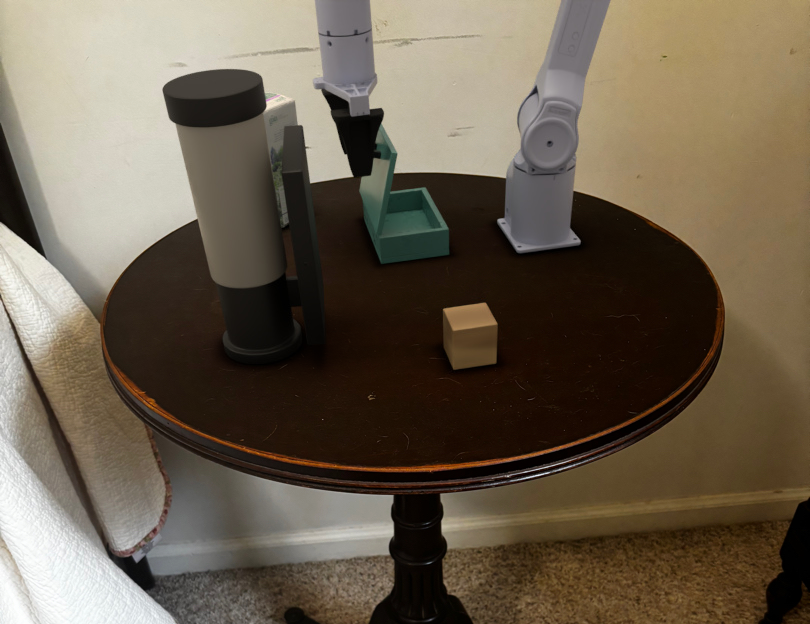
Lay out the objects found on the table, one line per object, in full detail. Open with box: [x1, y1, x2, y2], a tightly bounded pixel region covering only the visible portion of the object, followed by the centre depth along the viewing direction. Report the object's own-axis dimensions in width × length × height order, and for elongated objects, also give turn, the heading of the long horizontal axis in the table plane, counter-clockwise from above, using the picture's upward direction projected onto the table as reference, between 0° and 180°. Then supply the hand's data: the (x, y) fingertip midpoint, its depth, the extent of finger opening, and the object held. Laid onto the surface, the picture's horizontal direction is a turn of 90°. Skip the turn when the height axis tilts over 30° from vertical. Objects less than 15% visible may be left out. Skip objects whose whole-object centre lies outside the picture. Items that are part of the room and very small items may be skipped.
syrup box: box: [263, 91, 299, 229], centre depth 102 cm, size 6×6×14 cm
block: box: [442, 302, 499, 371], centre depth 79 cm, size 4×4×4 cm
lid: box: [358, 122, 398, 235], centre depth 95 cm, size 9×13×4 cm
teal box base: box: [361, 186, 450, 265], centre depth 100 cm, size 8×13×3 cm, turn 11°
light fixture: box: [162, 68, 327, 365], centre depth 76 cm, size 12×11×25 cm
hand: (357, 163), depth 94 cm, fingers open, 7 cm apart
